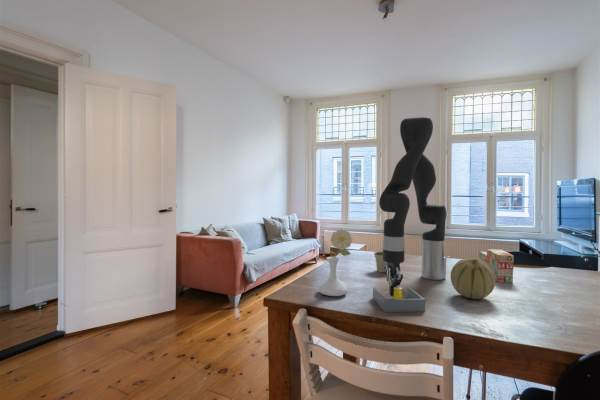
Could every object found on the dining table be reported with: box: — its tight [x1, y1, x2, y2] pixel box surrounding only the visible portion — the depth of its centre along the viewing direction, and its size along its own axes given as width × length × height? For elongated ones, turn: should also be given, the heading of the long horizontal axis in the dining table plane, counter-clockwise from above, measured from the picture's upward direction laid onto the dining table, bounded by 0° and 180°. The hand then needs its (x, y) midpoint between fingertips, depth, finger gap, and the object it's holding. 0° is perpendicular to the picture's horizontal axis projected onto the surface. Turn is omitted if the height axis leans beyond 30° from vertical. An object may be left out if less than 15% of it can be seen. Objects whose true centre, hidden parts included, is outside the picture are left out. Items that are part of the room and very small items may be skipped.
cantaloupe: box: [450, 257, 496, 300], centre depth 114 cm, size 15×15×15 cm
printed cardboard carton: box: [478, 248, 515, 284], centre depth 142 cm, size 21×6×12 cm, turn 168°
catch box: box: [372, 286, 426, 313], centre depth 107 cm, size 14×13×4 cm
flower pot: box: [373, 251, 387, 273], centre depth 150 cm, size 9×9×9 cm
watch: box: [393, 286, 404, 299], centre depth 107 cm, size 6×3×6 cm, turn 178°
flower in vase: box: [317, 228, 353, 297], centre depth 117 cm, size 13×11×25 cm
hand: (392, 295), depth 112 cm, fingers closed
